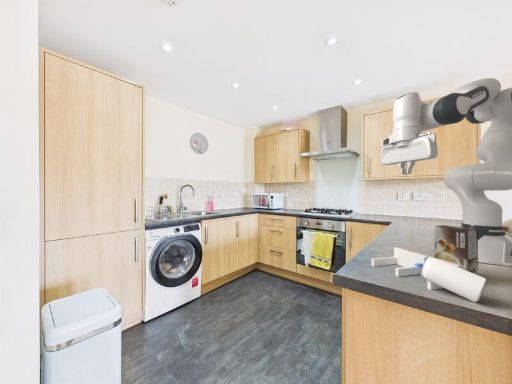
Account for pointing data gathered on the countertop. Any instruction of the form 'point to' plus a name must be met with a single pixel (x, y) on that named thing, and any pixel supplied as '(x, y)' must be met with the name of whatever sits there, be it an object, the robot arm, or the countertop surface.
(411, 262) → the white pronged rack
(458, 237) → the coffee box
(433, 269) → the can
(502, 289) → the countertop surface
